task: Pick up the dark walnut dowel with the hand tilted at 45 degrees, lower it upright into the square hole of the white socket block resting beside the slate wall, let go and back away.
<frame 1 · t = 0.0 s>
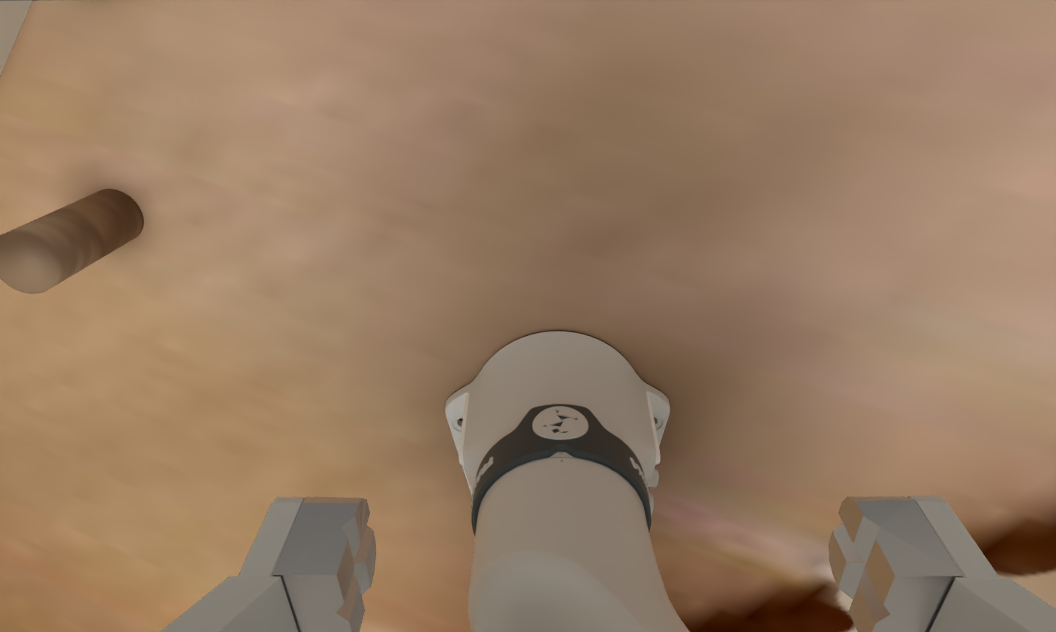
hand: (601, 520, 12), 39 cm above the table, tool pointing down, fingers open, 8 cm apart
walnut dowel: (116, 215, 50), on the table
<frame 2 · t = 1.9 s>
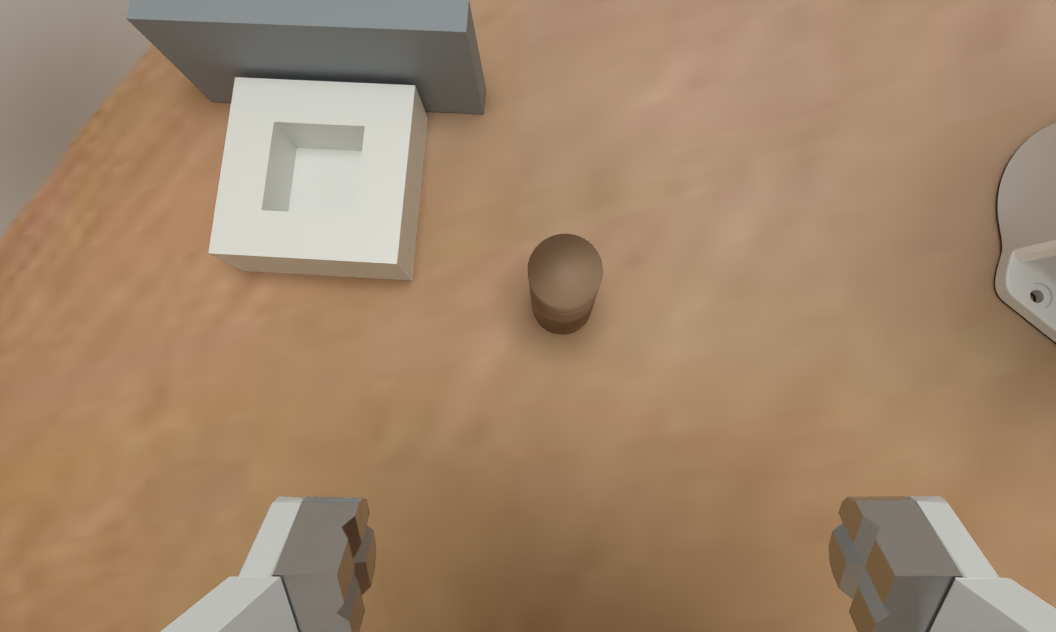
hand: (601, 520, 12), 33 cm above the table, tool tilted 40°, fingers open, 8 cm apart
slate backstop wall: (348, 95, 49), on the table
walnut dowel: (562, 305, 45), on the table
white socket block: (338, 195, 48), on the table
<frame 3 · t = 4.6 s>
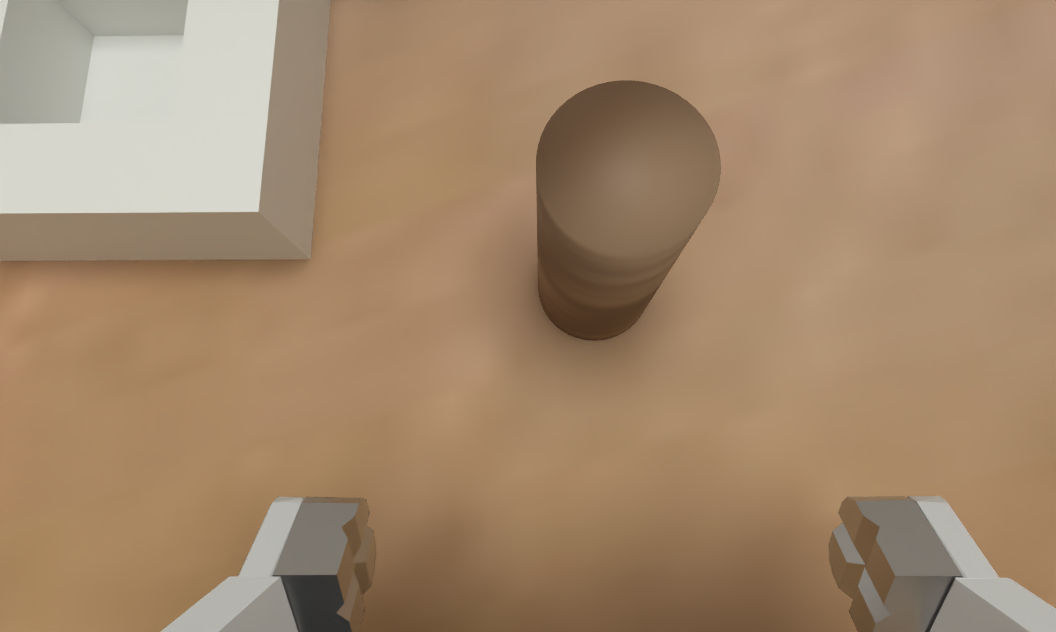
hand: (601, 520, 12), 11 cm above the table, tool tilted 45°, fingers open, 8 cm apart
walnut dowel: (593, 286, 24), on the table
white socket block: (174, 117, 26), on the table
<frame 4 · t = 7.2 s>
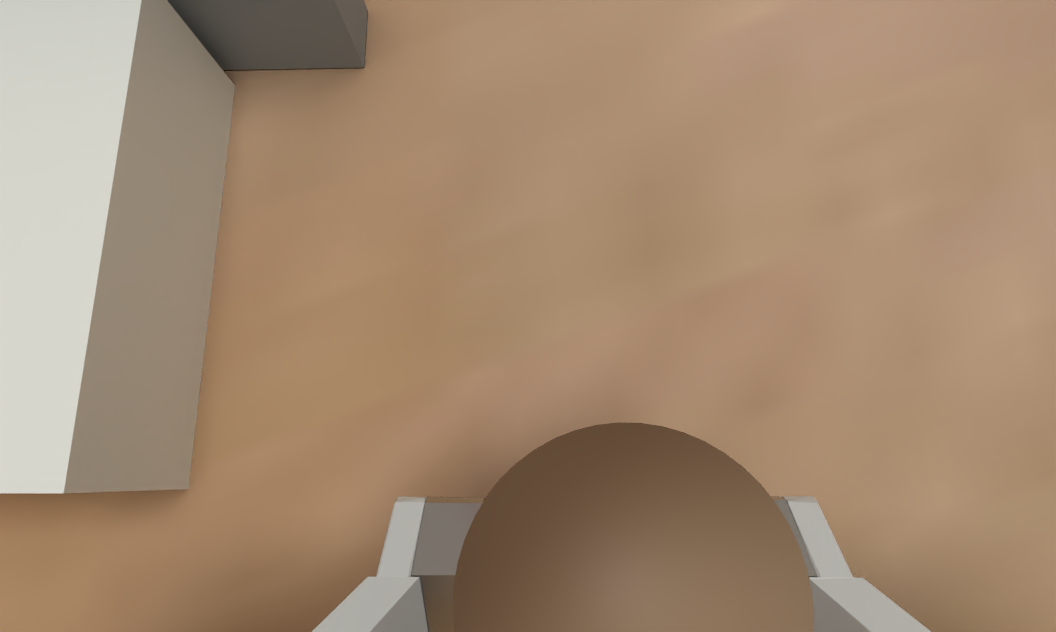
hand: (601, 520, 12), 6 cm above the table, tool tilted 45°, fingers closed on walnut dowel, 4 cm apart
slate backstop wall: (49, 45, 21), on the table
walnut dowel: (583, 532, 17), on the table, touching gripper
white socket block: (16, 277, 20), on the table
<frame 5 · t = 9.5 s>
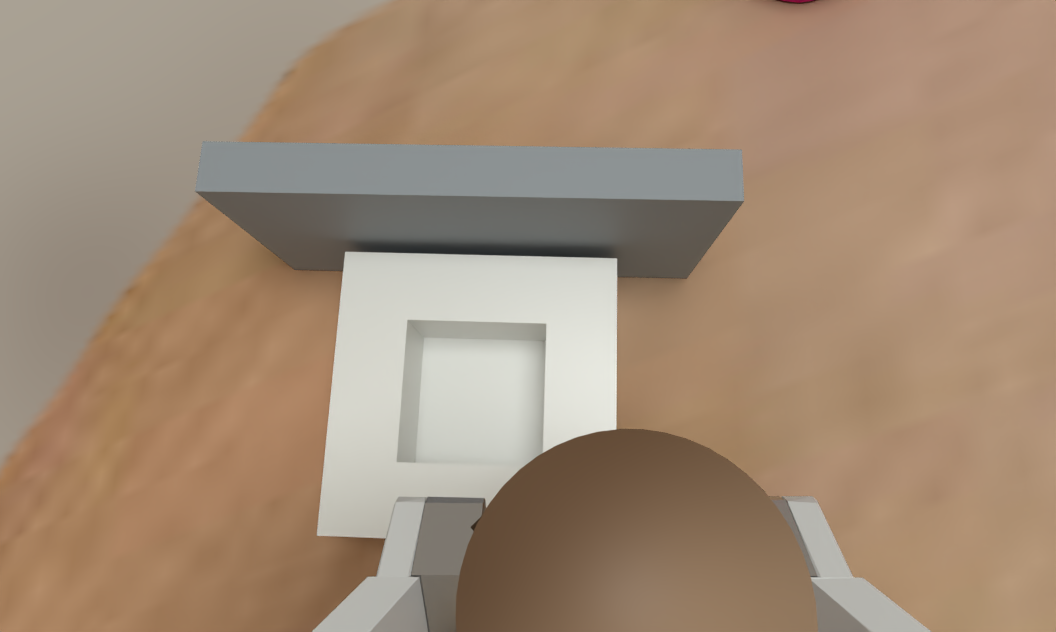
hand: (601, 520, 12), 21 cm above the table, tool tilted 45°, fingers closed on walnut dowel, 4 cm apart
slate backstop wall: (489, 255, 34), on the table
walnut dowel: (584, 535, 17), point 15 cm above the table, touching gripper
white socket block: (483, 402, 33), on the table
when the fingers open (8 cm above the table, at t = 12.2 s): walnut dowel drops 2 cm, resting on white socket block.
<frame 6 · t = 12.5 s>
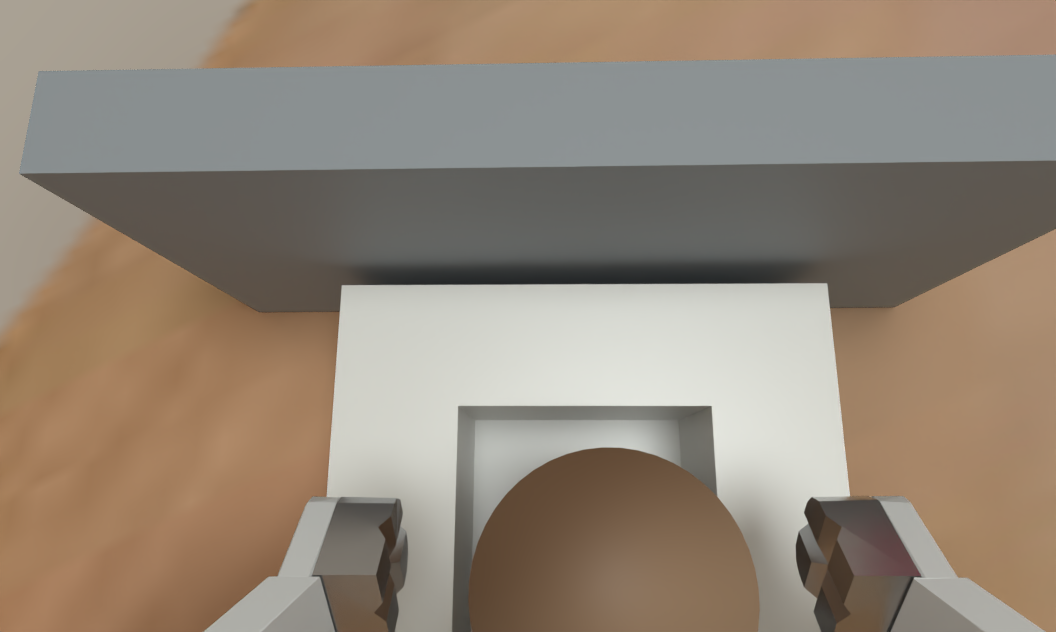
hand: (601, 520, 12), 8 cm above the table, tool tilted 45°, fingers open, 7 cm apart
slate backstop wall: (572, 279, 21), on the table
walnut dowel: (580, 529, 19), point 1 cm above the table, touching white socket block
white socket block: (576, 524, 20), on the table, touching walnut dowel
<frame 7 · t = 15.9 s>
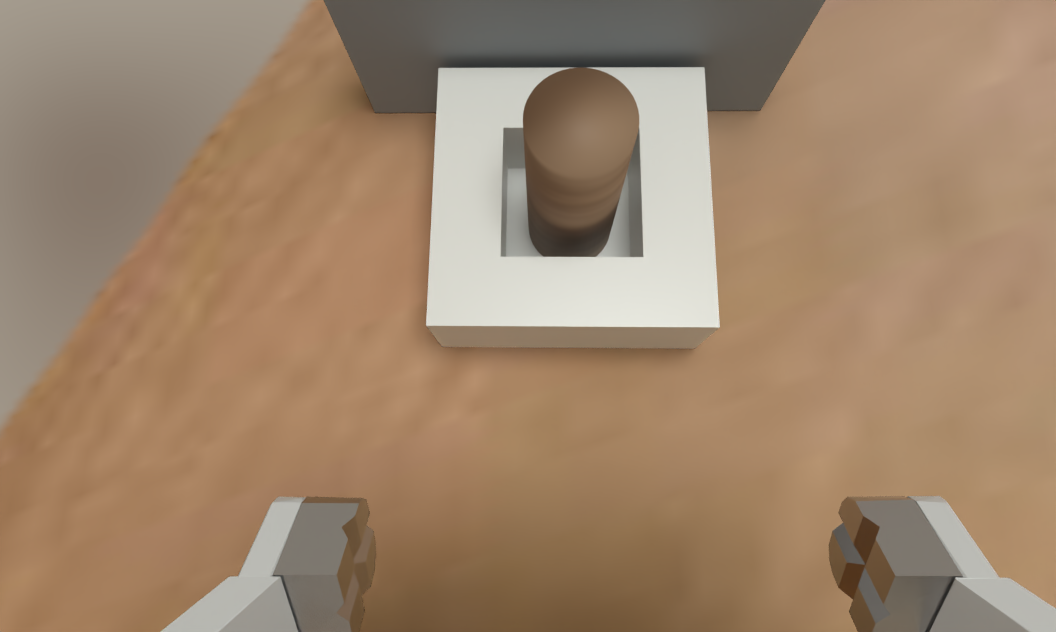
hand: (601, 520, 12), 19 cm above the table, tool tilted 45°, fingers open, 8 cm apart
slate backstop wall: (566, 94, 35), on the table
walnut dowel: (569, 226, 33), point 1 cm above the table, touching white socket block
white socket block: (567, 232, 34), on the table, touching walnut dowel
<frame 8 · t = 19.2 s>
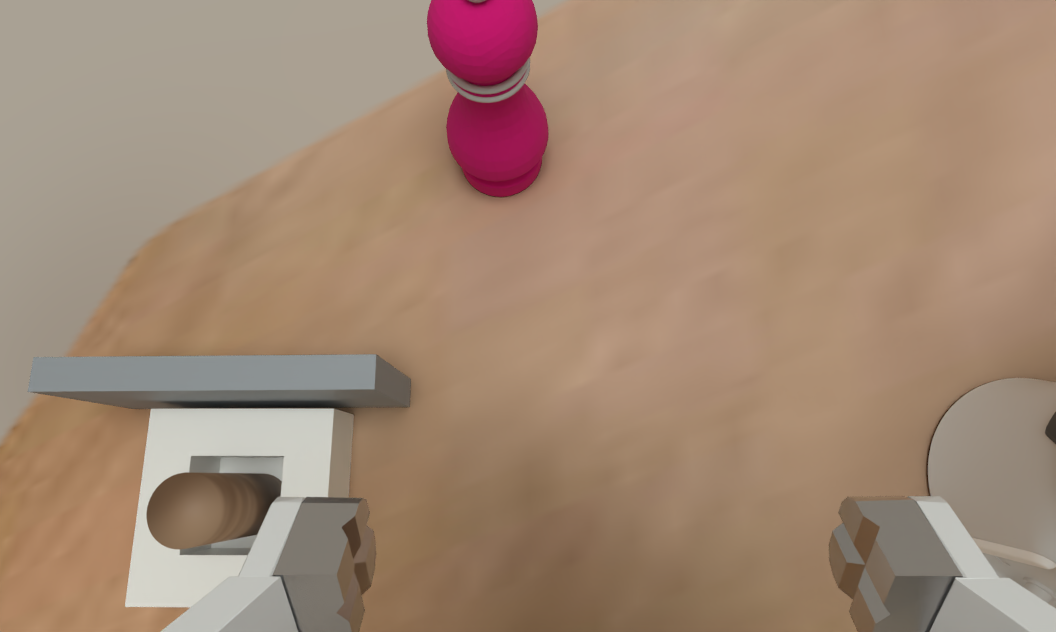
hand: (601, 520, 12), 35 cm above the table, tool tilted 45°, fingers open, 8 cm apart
slate backstop wall: (271, 393, 48), on the table
walnut dowel: (260, 503, 46), resting on white socket block
white socket block: (265, 501, 47), on the table, touching walnut dowel
pepper mill: (501, 161, 52), on the table
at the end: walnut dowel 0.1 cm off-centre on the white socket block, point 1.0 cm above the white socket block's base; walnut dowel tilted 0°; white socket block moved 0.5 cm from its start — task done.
